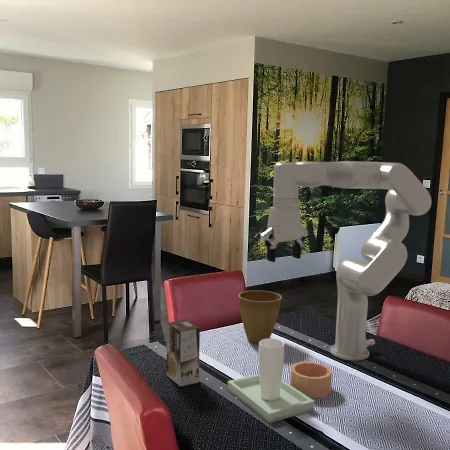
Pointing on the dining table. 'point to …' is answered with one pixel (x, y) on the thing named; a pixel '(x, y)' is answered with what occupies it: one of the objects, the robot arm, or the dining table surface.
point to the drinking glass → (270, 368)
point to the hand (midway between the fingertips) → (284, 259)
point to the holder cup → (311, 379)
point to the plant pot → (259, 313)
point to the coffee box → (183, 352)
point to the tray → (270, 410)
